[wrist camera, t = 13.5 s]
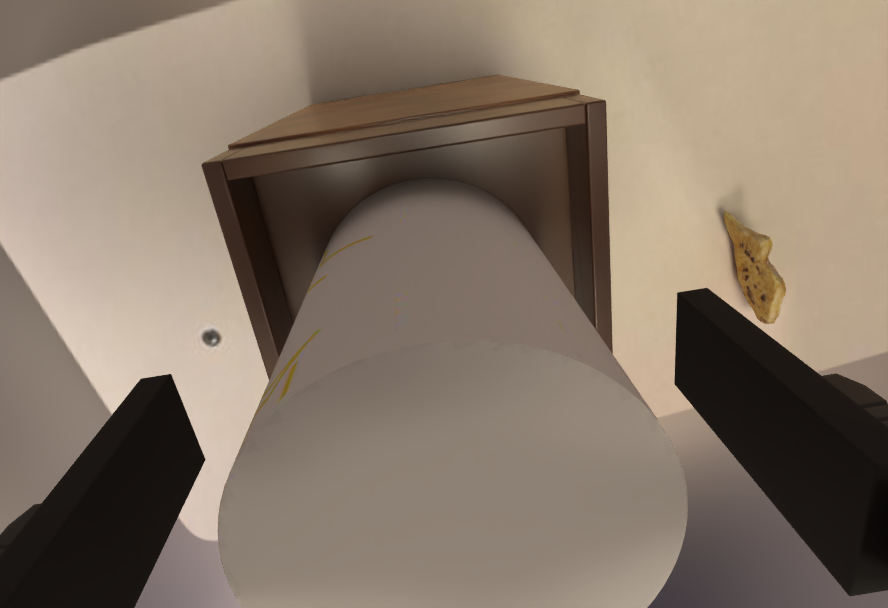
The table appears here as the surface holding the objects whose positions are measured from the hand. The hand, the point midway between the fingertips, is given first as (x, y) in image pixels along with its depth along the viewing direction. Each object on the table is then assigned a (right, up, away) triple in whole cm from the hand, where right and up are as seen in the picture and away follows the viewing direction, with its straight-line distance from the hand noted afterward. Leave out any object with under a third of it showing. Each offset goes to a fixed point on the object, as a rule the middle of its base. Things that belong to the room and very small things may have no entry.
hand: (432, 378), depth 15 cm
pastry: (+22, +5, +27) cm, 35 cm away
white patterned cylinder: (0, +3, +6) cm, 7 cm away
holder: (0, +3, +7) cm, 7 cm away
